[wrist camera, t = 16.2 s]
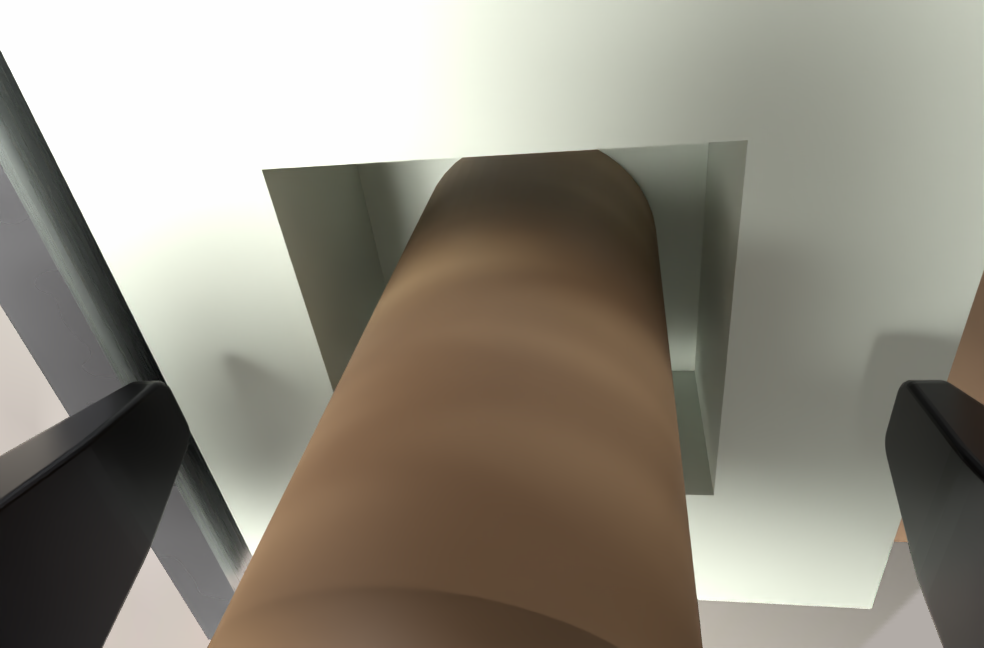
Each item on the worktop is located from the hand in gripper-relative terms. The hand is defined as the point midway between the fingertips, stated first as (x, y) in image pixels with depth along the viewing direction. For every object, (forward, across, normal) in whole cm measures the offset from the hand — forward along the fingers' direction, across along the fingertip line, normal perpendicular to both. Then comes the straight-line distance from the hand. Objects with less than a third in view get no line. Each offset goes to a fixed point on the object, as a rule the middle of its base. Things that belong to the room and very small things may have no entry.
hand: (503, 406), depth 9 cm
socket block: (+4, 0, 0) cm, 4 cm away
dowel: (+4, 0, 0) cm, 4 cm away
